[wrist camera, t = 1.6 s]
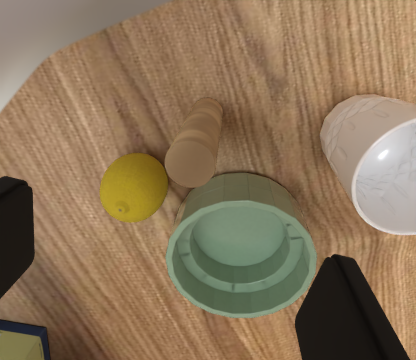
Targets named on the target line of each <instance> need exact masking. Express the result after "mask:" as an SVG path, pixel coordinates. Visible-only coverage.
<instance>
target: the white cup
mask: <svg viewBox="0 0 416 360" xmlns="http://www.w3.org/2000/svg"><path fill="white" fill-rule="evenodd" d="M320 140H321V147H322V151H323V153H324V154H325V156H326V157H327V159H328V162H329V164H330V166H331V168H332V170H333V172H334V173H335V175H336V177H337V179H338V181H339V182H340V184H341V186H342V187H343V189H344V191H345V192H346V194H347V195H348V197H349V199H350V200H351V202H352V204H353V205H354V207H355V209H356V210H357V212H358V213H359V215H360V216H361V217H362V218H363V220H364V221H366V222H367V223H368V224H369V225H371V226H372V227H374V228H376V229H378V230H380V231H383V232H386V233H390V234H396V235H416V103H412V102H407V101H403V100H399V99H395V98H388V97H383V96H380V95H377V94H364V95H354V96H352V97H350V98H348V99H346V100H344V101H342V102H340V103H338V104H337V105H336V106H335V107H334V108H333V110H332V111H331V112H330V113H329V114H328V115H327V116H326V118H325V119H324V122H323V126H322V129H321V132H320Z"/></svg>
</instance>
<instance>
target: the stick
mask: <svg viewBox="0 0 416 360" xmlns="http://www.w3.org/2000/svg"><path fill="white" fill-rule="evenodd" d="M222 117H223V111H222V107H221V105H220V104H219V103H218V102H217V101H216V100H214V99H212V98H202V99H200V100H198V101H197V102H196V103H195V104H194V106H193V108H192V109H191V111H190V113H189V115H188V116H187V118H186V120H185V122H184V124H183V125H182V127H181V129H180V131H179V132H178V134H177V136H176V138H175V139H174V141H173V143H172V145H171V147H170V148H169V150H168V152H167V154H166V157H165V169H166V171H167V174H168V175H169V177H170V178H171V179H172V180H173V181H174V182H175V183H177V184H178V185H181V186H183V187H187V188H196V187H200V186H202V185H204V184H206V183H207V182H209V181H210V180H211V178H212V177H213V175H214V173H215V169H216V162H217V155H218V147H219V140H220V132H221V125H222Z"/></svg>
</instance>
